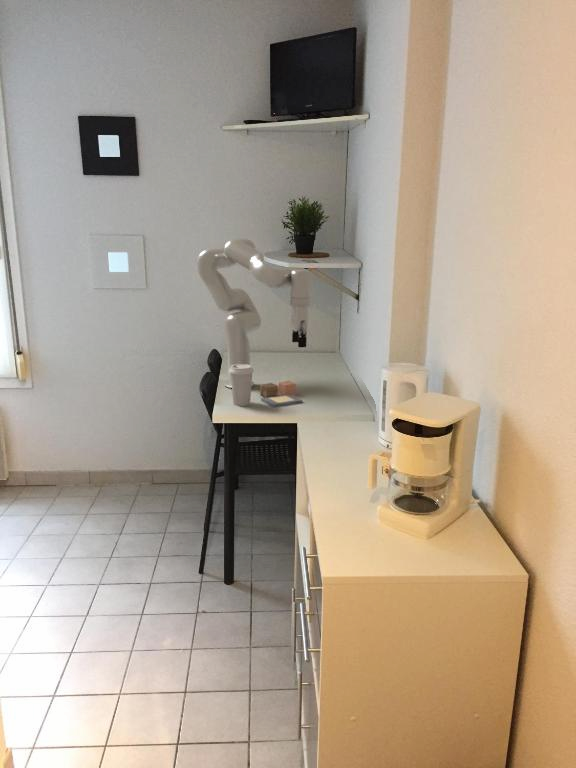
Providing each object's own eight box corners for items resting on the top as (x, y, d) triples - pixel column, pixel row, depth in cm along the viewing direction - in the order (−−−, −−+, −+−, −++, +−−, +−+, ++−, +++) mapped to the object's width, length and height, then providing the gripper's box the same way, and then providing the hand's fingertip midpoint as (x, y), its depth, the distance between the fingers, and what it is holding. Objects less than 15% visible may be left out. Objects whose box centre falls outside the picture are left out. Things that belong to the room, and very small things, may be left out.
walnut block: (260, 396, 265) (260, 384, 264) (271, 394, 268) (271, 382, 267) (266, 399, 261) (266, 387, 260) (277, 397, 264) (277, 385, 262)
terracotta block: (278, 394, 268) (278, 382, 267) (289, 392, 271) (289, 380, 270) (284, 397, 264) (284, 385, 263) (295, 395, 267) (295, 383, 265)
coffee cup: (229, 400, 259) (229, 363, 255) (253, 400, 260) (253, 363, 256) (229, 407, 250) (228, 369, 246) (254, 407, 250) (253, 369, 246)
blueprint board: (261, 400, 259) (261, 398, 258) (289, 396, 265) (289, 393, 265) (273, 407, 250) (273, 404, 250) (302, 402, 256) (302, 399, 256)
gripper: (285, 298, 262) (285, 340, 267) (296, 305, 246) (295, 349, 251) (303, 298, 264) (302, 340, 269) (315, 304, 248) (314, 348, 252)
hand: (299, 344), depth 260 cm, fingers open, 9 cm apart
